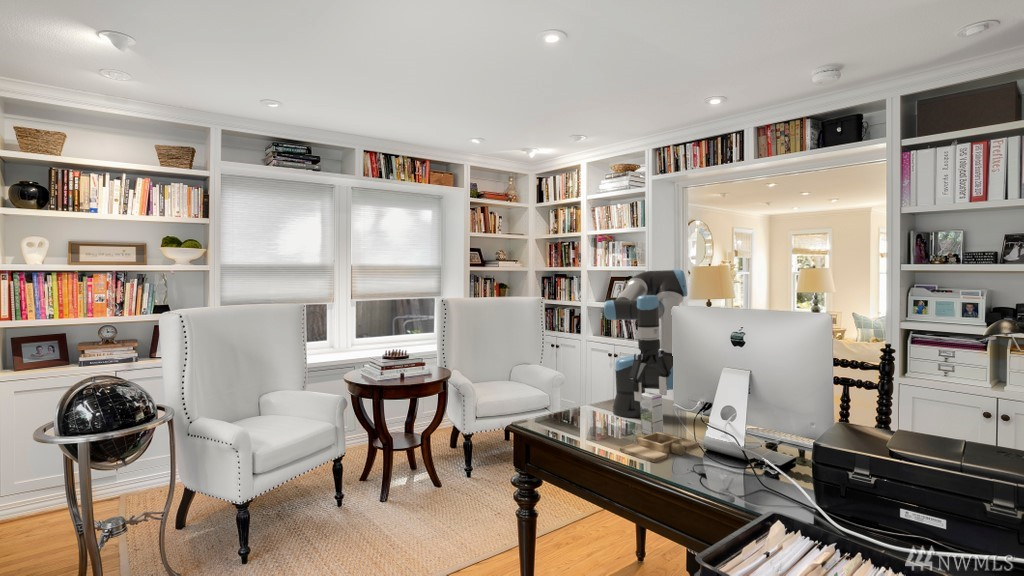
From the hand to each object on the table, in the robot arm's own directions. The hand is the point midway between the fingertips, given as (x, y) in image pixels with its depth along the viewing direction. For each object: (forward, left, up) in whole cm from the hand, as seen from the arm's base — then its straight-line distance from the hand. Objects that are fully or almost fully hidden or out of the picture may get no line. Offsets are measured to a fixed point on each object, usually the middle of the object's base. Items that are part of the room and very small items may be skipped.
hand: (650, 397), depth 192 cm
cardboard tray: (+11, +12, -13) cm, 21 cm away
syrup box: (0, 0, -13) cm, 13 cm away
